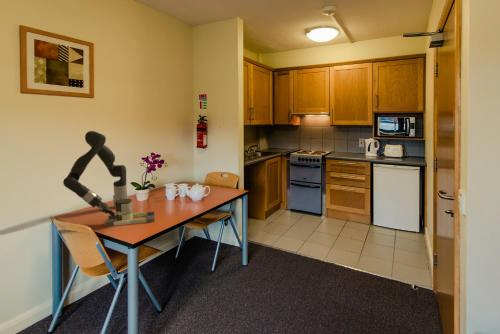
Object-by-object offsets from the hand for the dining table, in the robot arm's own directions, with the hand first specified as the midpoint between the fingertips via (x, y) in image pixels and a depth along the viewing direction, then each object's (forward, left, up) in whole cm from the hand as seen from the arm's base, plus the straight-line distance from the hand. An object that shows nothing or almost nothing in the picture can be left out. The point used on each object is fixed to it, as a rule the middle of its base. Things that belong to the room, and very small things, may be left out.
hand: (113, 214), depth 199 cm
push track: (+9, +5, -5) cm, 12 cm away
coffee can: (+6, +3, -5) cm, 8 cm away
